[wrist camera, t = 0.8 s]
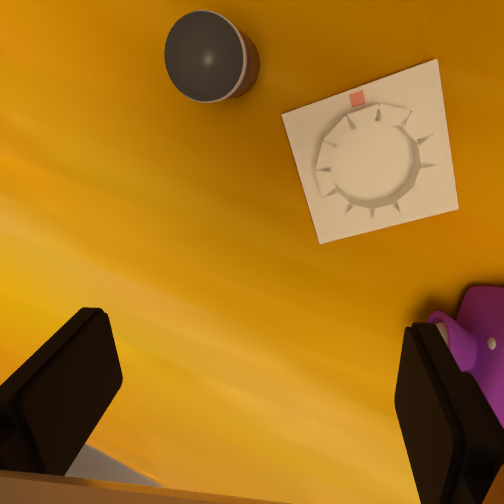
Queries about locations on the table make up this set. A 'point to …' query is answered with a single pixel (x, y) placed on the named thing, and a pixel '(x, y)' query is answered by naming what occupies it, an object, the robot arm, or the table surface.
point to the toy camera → (479, 340)
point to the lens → (210, 57)
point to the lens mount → (375, 154)
